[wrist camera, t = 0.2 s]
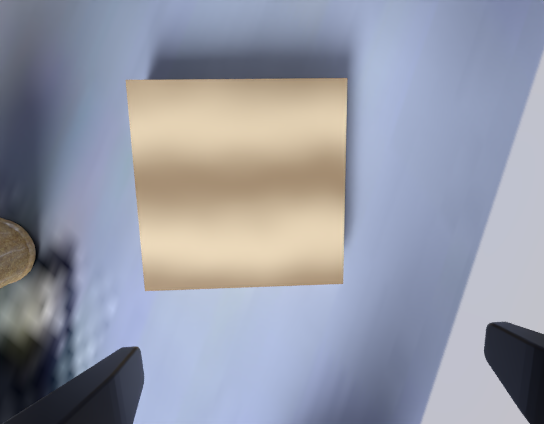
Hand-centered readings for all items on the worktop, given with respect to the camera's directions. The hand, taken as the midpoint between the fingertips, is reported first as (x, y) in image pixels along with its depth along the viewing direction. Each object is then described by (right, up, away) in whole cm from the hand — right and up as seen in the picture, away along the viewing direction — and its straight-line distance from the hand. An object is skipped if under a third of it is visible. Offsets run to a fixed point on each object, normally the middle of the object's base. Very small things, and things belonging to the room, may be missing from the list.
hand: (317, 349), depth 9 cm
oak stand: (-3, +5, +14) cm, 15 cm away
